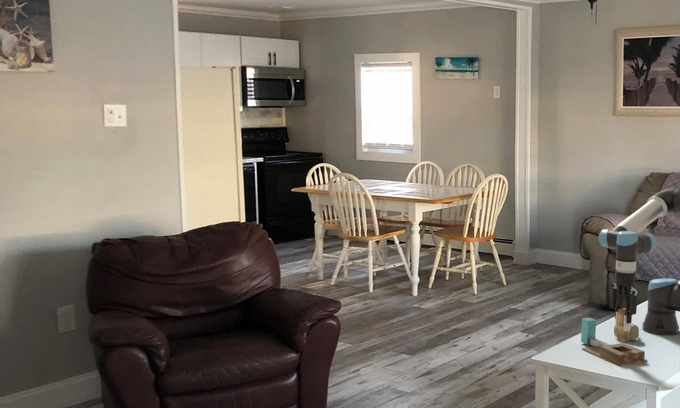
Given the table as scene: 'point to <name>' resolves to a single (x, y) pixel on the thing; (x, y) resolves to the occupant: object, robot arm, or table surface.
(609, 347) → the dock
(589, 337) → the teal l-shaped block
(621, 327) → the dowel
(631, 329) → the grey cylinder
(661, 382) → the table surface
